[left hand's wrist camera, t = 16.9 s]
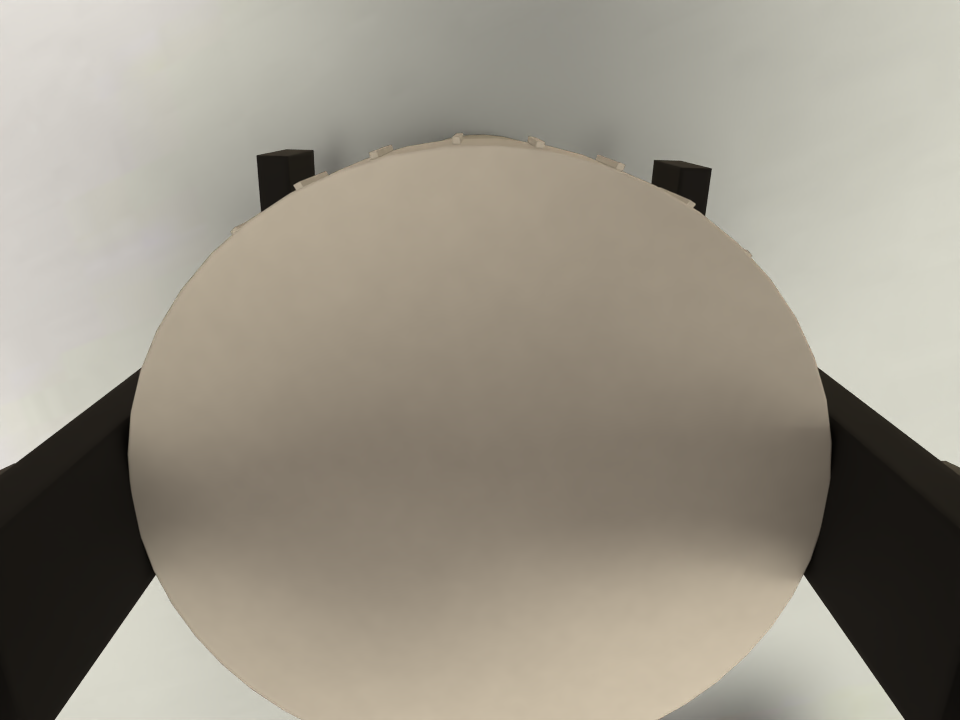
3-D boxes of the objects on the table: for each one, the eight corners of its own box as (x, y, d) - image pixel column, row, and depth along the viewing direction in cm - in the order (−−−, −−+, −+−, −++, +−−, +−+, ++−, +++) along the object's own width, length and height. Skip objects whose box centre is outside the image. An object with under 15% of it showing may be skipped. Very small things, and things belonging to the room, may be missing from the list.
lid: (376, 733, 15) (359, 838, 12) (60, 319, 11) (-35, 367, 9) (847, 545, 13) (920, 630, 11) (634, -1, 10) (678, -33, 8)
